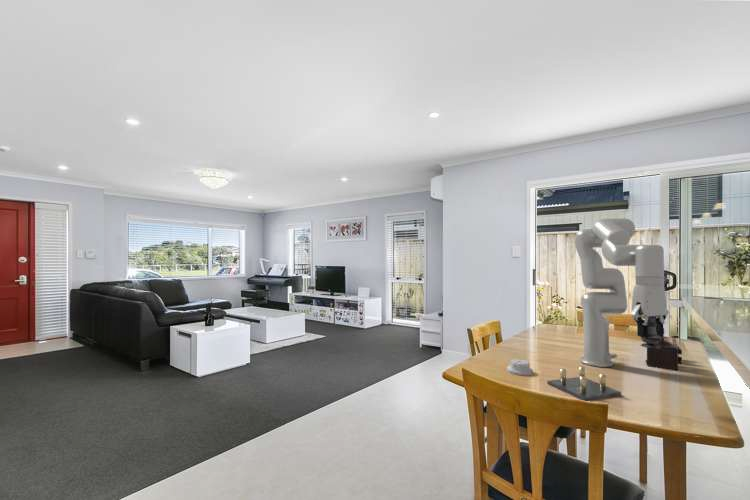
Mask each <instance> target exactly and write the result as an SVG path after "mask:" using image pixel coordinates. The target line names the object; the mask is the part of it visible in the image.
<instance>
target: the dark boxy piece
mask: <svg viewBox="0 0 750 500" xmlns="http://www.w3.org/2000/svg"><path fill="white" fill-rule="evenodd" d="M661 337H662V338H661V340H660V342H659V343H657V344H655V345H658V346H660V347H661V348H659V349H654V348H646V360H645V364H646V366H647V367H652V368H656V367H657V368H656V369H661V368H662V369H663V370H666V371H667V370H668V371H674V370H675V371H676V372H678V370H679V364H678V356H679V354H678V347H679V345H678V343H672V342H670V341H668V340H666V339H664V337H665V328H664V327H663V336H661Z"/></svg>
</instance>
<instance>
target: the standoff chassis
mask: <svg viewBox="0 0 750 500" xmlns="http://www.w3.org/2000/svg"><path fill="white" fill-rule="evenodd" d="M559 371H560V378H559V379H551V380H547V385H549V386H551V387H553V388H556V389H557V390H559V391H561V392H564V393H566V394H568V395H570V396H572V397H575V398H577V399H579V400H581V401H583V400H586V401H593V400H597V399H605V398H611V397H612V398H613V397H620V396H622V392H621V391H619V390H617V389H614V388H612V387H610V386H606V385H607V384H606V382H607V379H606V374H604V373H599V382H598V381H594V380H591V379H589V378H587V377H586V374H585V373H586V372H585V371H586V367H584V366H579V367H578V375H579V376H575V377H567V369H566V368H560V370H559Z"/></svg>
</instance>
